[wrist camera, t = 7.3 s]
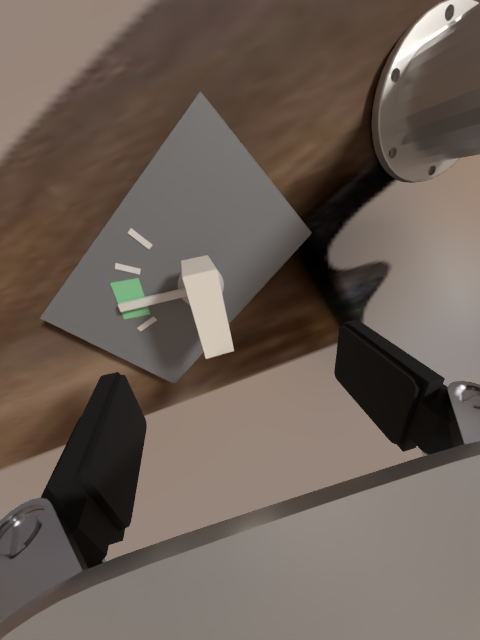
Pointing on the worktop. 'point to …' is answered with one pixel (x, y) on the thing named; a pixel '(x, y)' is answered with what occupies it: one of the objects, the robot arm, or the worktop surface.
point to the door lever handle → (198, 304)
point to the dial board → (179, 246)
